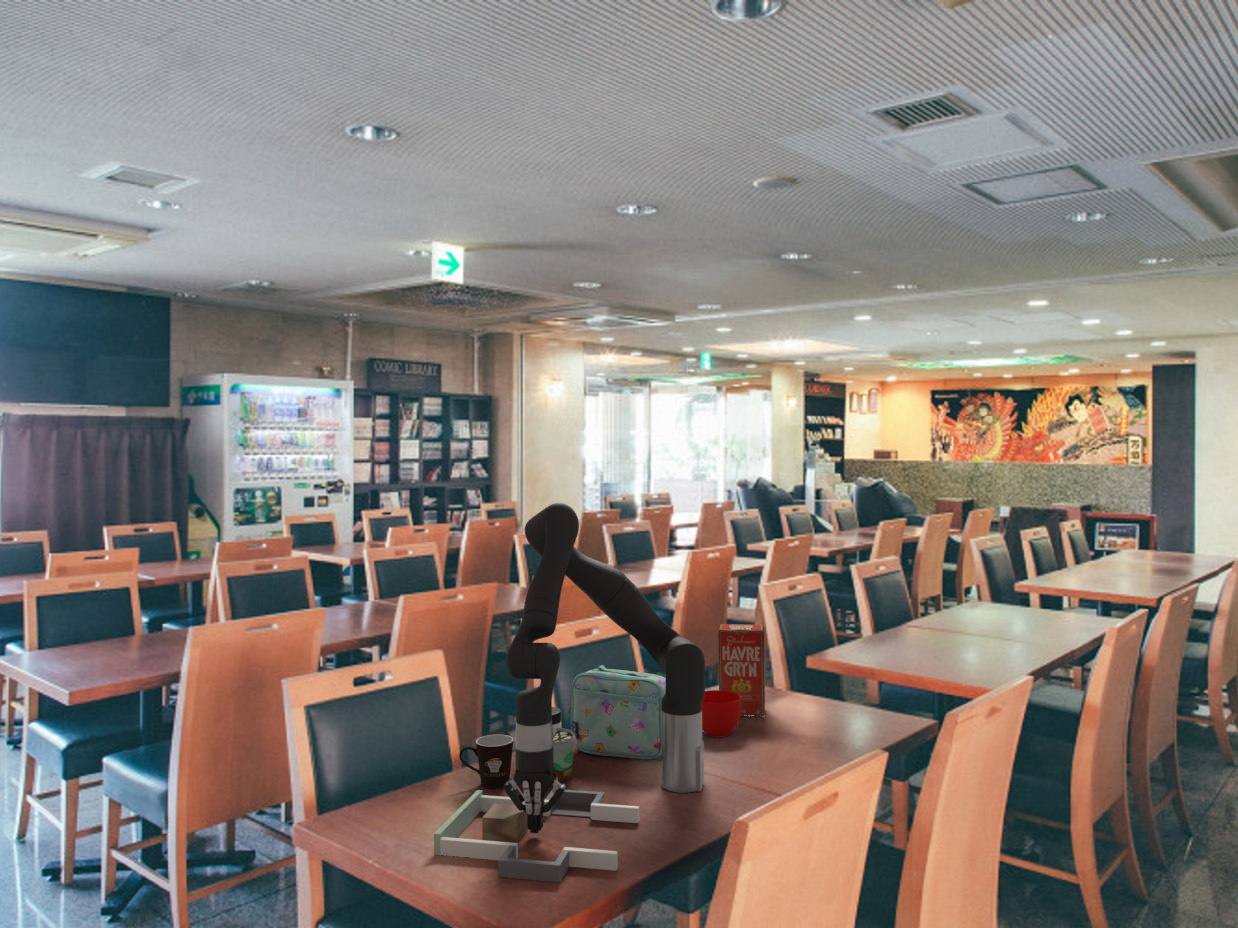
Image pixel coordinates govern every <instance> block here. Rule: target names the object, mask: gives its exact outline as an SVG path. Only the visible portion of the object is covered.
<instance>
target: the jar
mask: <svg viewBox="0 0 1238 928" xmlns="http://www.w3.org/2000/svg"><path fill="white" fill-rule="evenodd" d="M561 710H562V709H560V708H558V707H556V706H552V727H553V735H555V733H556V730H557V728H563V727H562V726H563V725H562V711H561Z"/></svg>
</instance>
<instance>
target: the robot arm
mask: <svg viewBox="0 0 1238 928" xmlns="http://www.w3.org/2000/svg"><path fill="white" fill-rule="evenodd" d="M579 528H580V521H579V518H578V515H577V513H576V511H575V510H574V509H573V508H572V507H571V506H570V505H568V504H567V503H564V502H556V503H552V504H550V505H548V506H547V507H545V508H543V509H542V510H541V511H539V512H538V513H536V514H535V515H534V516H532V517H531V518H530V519H529V520H528V521H526V523H525V526H524V535H525V538H526V540H527V542H528V544H529V545H530V546H531V548H532V549H533V550H534V551H535V552H536V553H537V554H539V555H540V556H541V558H540V559H541V560H540V562H539V564H538V566H537V568H536V570H535V573H534V575H533V577H532V579H531V582H530V583H529V586H528V589H527V591H526V596H525V600H524V606H523V613H522V618H521V622H520V625H519V627H518V629H517V631H516V634H515V636H514V637H513V640H512V642H511V643H510V646H509V648H508V650H507V653H506V657H505V667H506V670H507V673H508V675H509V676H511V678H514V679H517V680H518V679H521V680H522V679H523V680H531V679H532V680H540V684H539V685H538V686H537V687H533V688H527V689H524V690H521V691H519V692H518V693H517V695H516V698H515V731H514V750H515V751H514V755H515V756H514V758H515V763H514V765H515V766H514V767H515V771H514V773H513V776H512V777H513V778H511V779H510V780H509V781H508V782H506V784H505V785H504V786H503V788H502V789H503V791H504V792H505V793H506V795H507V797H510V799H511V800H512V802H513V803H514V804H515V806H516V807H517V808H518V810H520V811H522V810H523V811H525V812H526V813H527V827H528V830H530V834H539V833H540V831H541V830H542V829H543V827H544V816H543V813H544V812H546V813H547V812H549V810H550V809H551V808H552V806H553V805H554V804H555V803H556V801H557V800H558V799H559V798H560V796H561V795H562V794H563V792H564V791H565V790H567V789H568V788H567V786H568V785H566V784H565V783H562V784H561V783H559V782H558V781H557V780H556V775H555V773H554V755H553V727H552V707H553V706H552V703H553V692H554V687H555V682H556V680H557V679H556V678H557V676H558V671H559V669H560V664H561V654H560V651H559V648H558V647H557V645H555V644H554V643H551V642H536V641H537V640H538V641H539V639H545V638H548V637H550V636H552V635H553V634H554V633H555V631H556V628H557V622H558V615H559V609H560V608H559V607H560V600H561V593H562V588H563V585H564V579H565V577H567V578H568V579H569V580H570V581H571V582H572V583H573V584H574V585H575V586H576V587H577V588H579V589H580V590H581V591H582V592H583V593H584V594H585V595H586V596H587V597H588V598H589V599H590V600H591V601H592V602H593V603H594V605H595V606H597V608H598V609H600V611H602V612H603V614H605V615H606V617H608V618H609V619H610V620H611V621H612V622H614V623H615V625H617V626H618V627H619V628H621V629H622V630H623V631H624V632H626V633H627V634H629V635H631V636H632V637H633V638H634V640H636V641H637V642H638V643H640V645H641V646H642V647H643V648H644V649H645V650H646V652H647V653H648V654H649V655H650V656H651V658H652V659H653V660H654V662H655V663H656V664H657V666H658V667H659V668H660V669H661V671H662V672H663V673H664V674H665V678H666V689H665V695H664V696H663V697H662V700H661V719H662V754H661V784H662V788H663V789H665V790H667V791H669V792H672V793H681V794H683V793H685V794H689V793H693V792H702V791H703V787H704V783H705V743H704V740H703V730H702V702H703V700H704V696H705V691H706V661H705V656H704V655H705V654H704V652H703V650H702V649H701V648H700V647H699V646H698V645H697V644H695V643H694V642H692V641H691V640H689V639H687V638H685V637H684V636H682V635H681V634H680V633H678V632H677V631H676V630H675V629H673V628H672V627H671V626H670V625H668V623H666V622H665V621H664V620H663V619H662V618H661V617H660V616H659V615H658V614H657V612H656V610H655V609H654V608H653V606H652V605H651V603H650V601H649V600H648V599H647V598H646V596H645V595H644V594H643V592H642V591H641V590H640V589H639V588H638V587H637V586H636V585H635V584H634V583H633V582H632V581H631V580H630V578H628V577H627V576H626V574H624V572H623V571H621V570H619V569H617V568H616V567H615V566H612V565H610V564H607V563H604V562H603V561H602V562H601V561H599V560H596V559H593V558H592V557H589V556H587V555H586V554H583V552H581V551H580V550H578V548H576V547H575V543H576V540H577V538H578V535H579V532H580V531H579V530H580V529H579ZM551 787H552V789H551ZM518 788H519V789H518ZM550 789H551V791H552V792H553V793H554V795H553V796H552V797H551V799H550V800H549V801H548V802H547V803H546V804H544V800H545V799H546V795H547V793H548V792H549V790H550ZM528 830H527V831H528Z"/></svg>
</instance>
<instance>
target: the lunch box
mask: <svg viewBox="0 0 1238 928" xmlns="http://www.w3.org/2000/svg"><path fill="white" fill-rule="evenodd" d="M665 689H666V677H665V676H662V675H659V674H654V673H648V672H640V671H631V670H626V669H625V670H623V669H613V668H612V669H611V668H606V667H605V665H603V664H601V665H598V666H597V668H594V669H590V670H587V671H585V672H581V673H579V674H577V675H576V676H575V677H574V678H573V681H572V683H571V701H570V705H569V707H568V711H567V714H569V715H570V730H571V731H572V732H573V733H574V735H575V738H576V742H577V743H576V745H575V746H574V747H575V748H577V750H578V751H581V752H583V753H587V754H590V755H594V756H595V755H596V756H602V757H612V758H613V757H614V758H625V759H626V758H627V759H633V760H653V759H657V758H659V757H661V756H662V719H661V700H662V697H663V696H664V695H665Z"/></svg>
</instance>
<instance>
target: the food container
mask: <svg viewBox="0 0 1238 928" xmlns="http://www.w3.org/2000/svg"><path fill="white" fill-rule="evenodd" d="M576 743H577V742H576V738H575V735H574V733H573V732H572V731H571V729H568V728H564V727H562V728H557V730H556V733H555V735H553V755H554V773H555V775H556V780H557V781H558V782H559V783H561V784H565V783H567V782H569V781H571V780H572V779H573V764H574V763H573V761H574V747H576V746H575V745H576Z"/></svg>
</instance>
